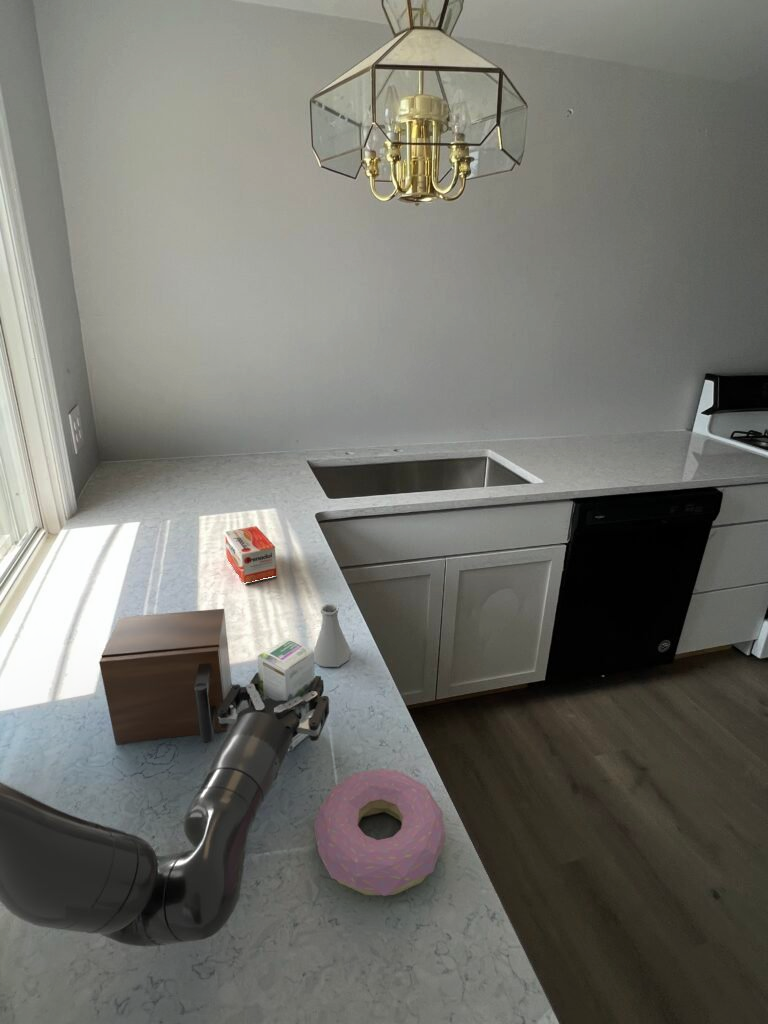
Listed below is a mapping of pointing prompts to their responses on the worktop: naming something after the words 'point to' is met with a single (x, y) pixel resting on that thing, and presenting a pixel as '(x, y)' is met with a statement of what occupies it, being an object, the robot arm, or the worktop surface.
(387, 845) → the donut
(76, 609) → the worktop surface
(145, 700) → the door
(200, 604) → the worktop surface
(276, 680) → the syrup box
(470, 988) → the worktop surface
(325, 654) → the flask
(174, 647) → the cabinet
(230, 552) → the medicine box
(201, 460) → the worktop surface
